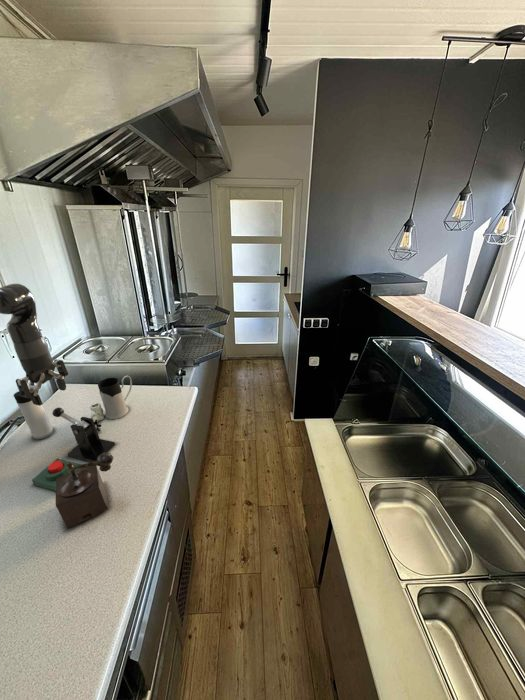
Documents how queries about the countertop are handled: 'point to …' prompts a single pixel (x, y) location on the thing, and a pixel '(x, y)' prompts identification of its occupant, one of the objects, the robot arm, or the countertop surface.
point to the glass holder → (113, 397)
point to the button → (55, 467)
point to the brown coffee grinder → (82, 491)
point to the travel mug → (34, 417)
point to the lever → (69, 418)
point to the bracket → (88, 442)
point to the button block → (52, 476)
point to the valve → (97, 414)
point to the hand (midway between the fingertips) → (51, 397)
